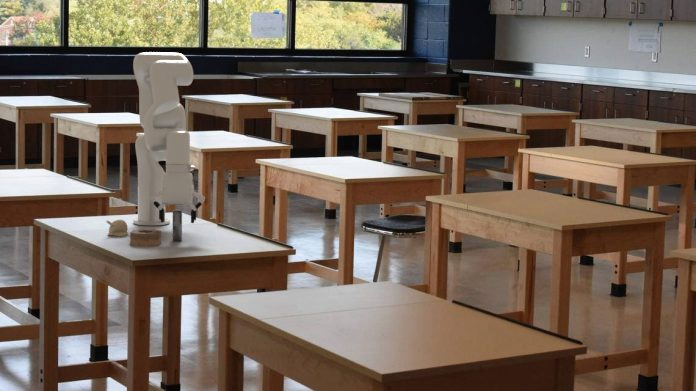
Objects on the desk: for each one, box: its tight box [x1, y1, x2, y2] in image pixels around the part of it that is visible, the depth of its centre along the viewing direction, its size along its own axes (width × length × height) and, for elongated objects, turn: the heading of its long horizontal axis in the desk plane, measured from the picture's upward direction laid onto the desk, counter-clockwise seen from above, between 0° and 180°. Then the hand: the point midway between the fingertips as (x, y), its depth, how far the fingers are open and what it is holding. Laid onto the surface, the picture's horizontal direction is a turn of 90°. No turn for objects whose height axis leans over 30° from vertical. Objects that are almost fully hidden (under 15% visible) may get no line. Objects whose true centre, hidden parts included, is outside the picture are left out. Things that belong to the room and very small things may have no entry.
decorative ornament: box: [105, 219, 129, 237], centre depth 384 cm, size 4×8×5 cm, turn 128°
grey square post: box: [171, 209, 183, 243], centre depth 375 cm, size 3×3×10 cm
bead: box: [129, 228, 162, 248], centre depth 369 cm, size 9×9×4 cm
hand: (177, 222), depth 375 cm, fingers open, 9 cm apart
